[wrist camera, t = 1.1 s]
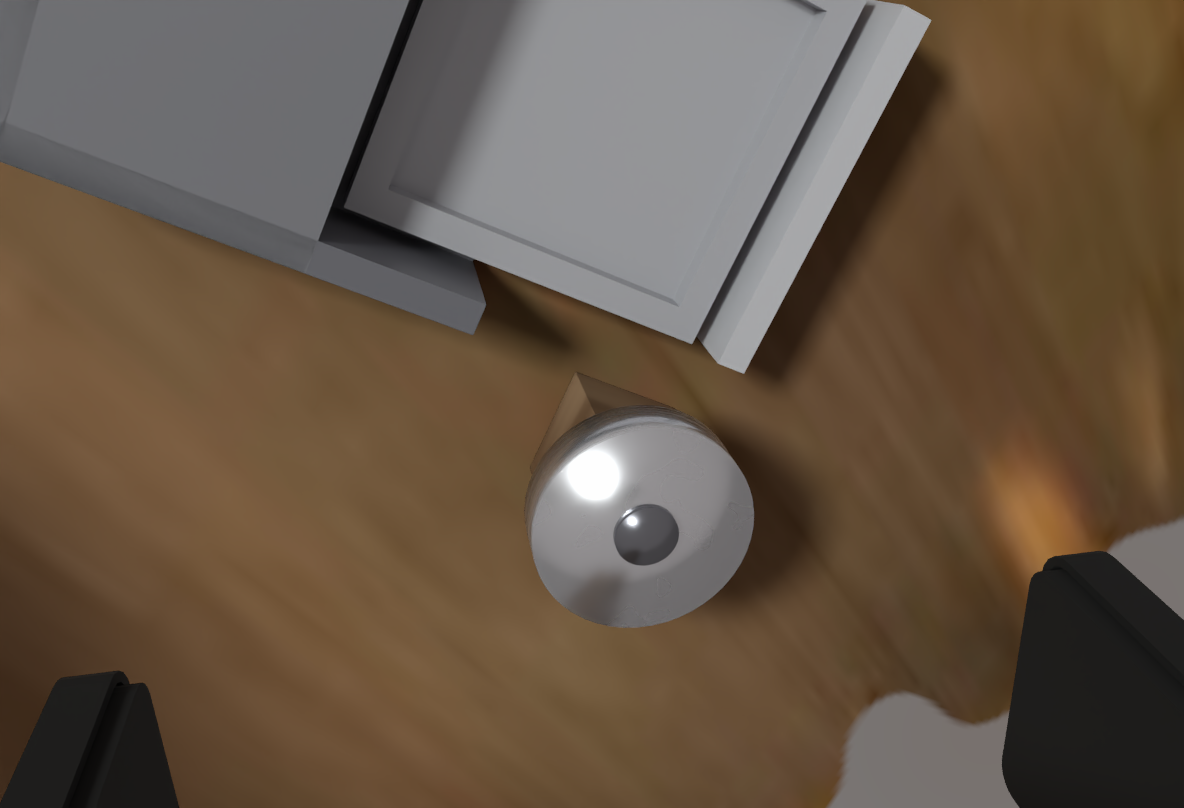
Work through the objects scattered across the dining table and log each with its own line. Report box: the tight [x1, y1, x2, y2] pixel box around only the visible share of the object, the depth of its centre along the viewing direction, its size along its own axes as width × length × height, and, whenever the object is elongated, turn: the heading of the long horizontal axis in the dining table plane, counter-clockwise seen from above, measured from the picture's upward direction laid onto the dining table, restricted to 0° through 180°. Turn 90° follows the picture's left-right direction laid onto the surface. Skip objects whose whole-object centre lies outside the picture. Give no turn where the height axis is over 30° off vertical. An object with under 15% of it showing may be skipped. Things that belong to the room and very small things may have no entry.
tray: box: [344, 0, 931, 374], centre depth 33 cm, size 12×14×3 cm
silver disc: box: [524, 405, 754, 628], centre depth 34 cm, size 7×7×2 cm
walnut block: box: [530, 372, 674, 475], centre depth 37 cm, size 4×4×5 cm
